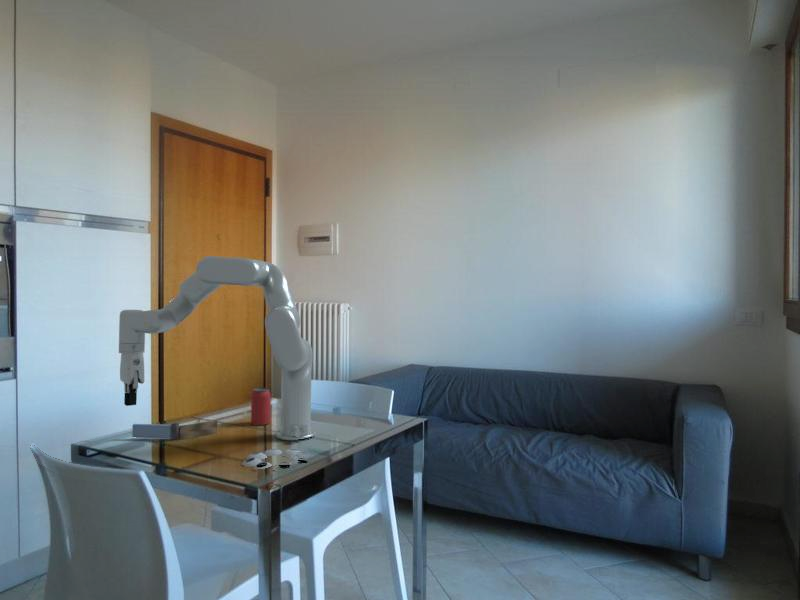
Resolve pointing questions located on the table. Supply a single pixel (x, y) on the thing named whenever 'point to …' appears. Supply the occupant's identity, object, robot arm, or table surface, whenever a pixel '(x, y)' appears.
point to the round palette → (257, 457)
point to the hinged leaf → (151, 431)
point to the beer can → (260, 406)
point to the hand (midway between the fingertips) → (130, 404)
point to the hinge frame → (193, 430)
